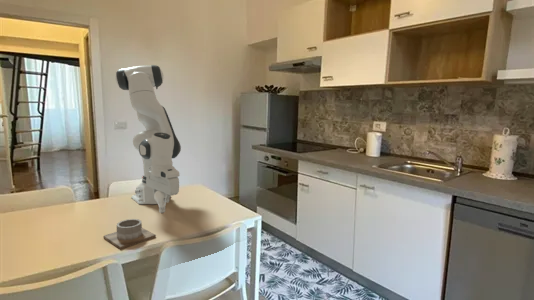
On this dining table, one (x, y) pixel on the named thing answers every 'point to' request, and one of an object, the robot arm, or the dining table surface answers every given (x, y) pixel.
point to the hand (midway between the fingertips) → (161, 200)
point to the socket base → (129, 242)
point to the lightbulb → (160, 200)
